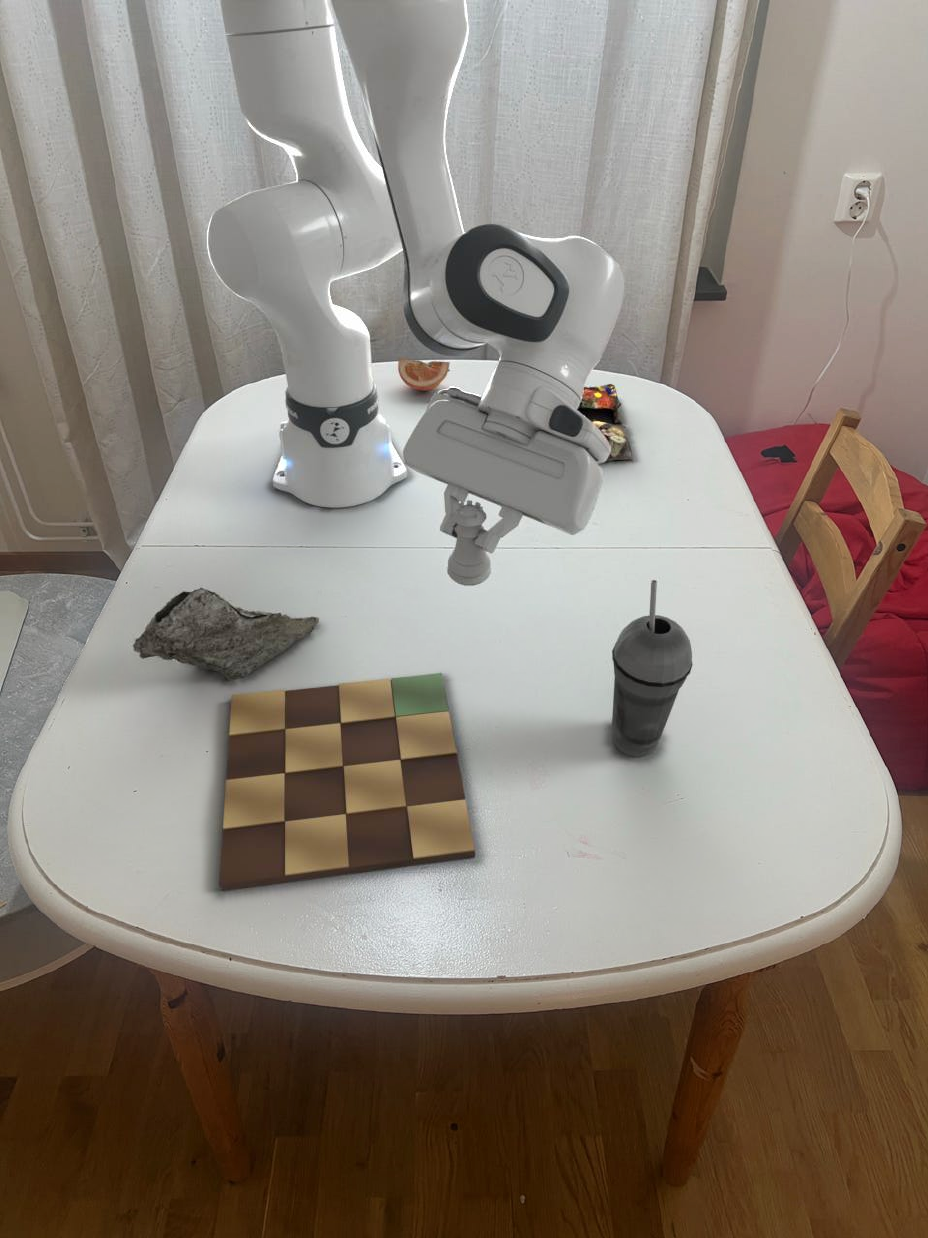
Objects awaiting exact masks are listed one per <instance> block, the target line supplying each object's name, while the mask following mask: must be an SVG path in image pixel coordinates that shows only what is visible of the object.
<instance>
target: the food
mask: <svg viewBox="0 0 928 1238" xmlns="http://www.w3.org/2000/svg"><path fill="white" fill-rule="evenodd" d="M615 386H616V385H615V384H613V383H607V384H604V385H598V386H589V387H588V386H584V391H583V396H582V400H581V402H580V404H579V406H578V409H577V411H579V409H583V410H585V409H589V410H602V409H606V410H612V415H613V420H614V423H615V424H616V425H615V424H610V423H607V422H603V421H599V420H596V419H595V418H593V421H591V422H592V423H593V424H594V425H595V426H596V427H597V428H598V429H599V430H600V431H601V432H602V433H603V435H604V436H605V438H606V439H607V441H608V442H609V444H610V446H611V452H610V454H609V456H608V458H607V460H606V461H605V462H607V461H615V460H622V461H623V460H632V459H633V460H634V456H633V451H632V448H631V444H630V439H629V436H628V432H627V428H626V426H625V425H617V424H623V421H622V417H621V413H620V410H619V409H620V407H621V406H622V403H621V402H620V400H619V397H618V393H617V389H616V387H615Z"/></svg>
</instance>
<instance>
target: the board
mask: <svg viewBox="0 0 928 1238" xmlns="http://www.w3.org/2000/svg"><path fill="white" fill-rule="evenodd" d="M229 717H230V718H229V730H228V732H229V733H228V746H227V747H228V748H227V764H226V779H225V790H224V791H225V792H224V805H223V818H222V819H223V821H222V836H221V838H222V839H221V850H220V851H221V852H220V865H219V866H220V867H219V879H218V881H219V882H218V885H219V888H220V891H229V890H237V889H245V888H251V887H260V886H267V885H273V884H275V885H276V884H283V883H290V882H297V881H306V880H313V879H321V878H326V877H327V878H328V877H336V876H342V875H350V874H351V875H352V874H359V873H365V872H367V873H368V872H373V871H382V870H390V869H396V868H405V867H411V866H412V867H413V866H419V865H420V866H421V865H428V864H435V863H442V862H450V861H457V860H465V859H472V858H475V857H476V847H475V841H474V838H473V837H474V836H473V831H472V826H471V820H470V815H469V811H468V805H467V799H466V794H465V789H464V783H463V779H462V774H461V768H460V762H459V757H458V751H457V746H456V741H455V735H454V730H453V725H452V720H451V719H452V718H451V713H450V708H449V704H448V698H447V694H446V688H445V682H444V678H443V673H442V672H438V673H428V674H419V675H409V676H401V677H400V676H399V677H392V678H391V677H390V678H380V679H372V680H363V681H352V682H341V683H338V684H336V685H325V686H318V687H310V688H308V687H307V688H299V689H298V688H297V689H289V690H288V689H287V690H285V689H277V690H268V691H266V690H265V691H258V692H256V691H255V692H248V693H239V694H232V695H231V702H230V716H229Z"/></svg>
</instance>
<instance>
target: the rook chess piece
mask: <svg viewBox="0 0 928 1238" xmlns="http://www.w3.org/2000/svg"><path fill="white" fill-rule="evenodd" d="M481 505H482V504H481V503H480V502H478V501H475V503H474V504H473V500H466V504H465V502H464V503H463V502H459V507H457V510H456V511H455V512H454V513H453V520H454V521H455V522H456V523H457V526H456V527H455V532H456V533H457V538H456V542H455V547H454V549H453V550H452V552H451V554H450V555H449V556H448V560H447V567H446V569H447V570H446V573H447V575H448V576H449V578H450V579H451V580H452V581H454V582H455V583H457V584H458V585H460V586H461V585H462V586H464V587H466V586H468V587H473V586H477V585H481V584H482V583H484V582H485V581H486V580H487V579H488V578H489V577H490V575H491V574H492V567H491V566H492V565H491V558H490V556H489V555H488V553H487V552H486V551H484V550H482V549H480V548H478V547H476V546H475V544H474V543H475V540H476V539H477V538H478V534H479V531H480V529H481V528H482V529H484V530H485V528H484V526H483V524H484V523H485V522H486V520H487V514H486V512H485V511H484V507H483V506H481Z"/></svg>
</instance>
